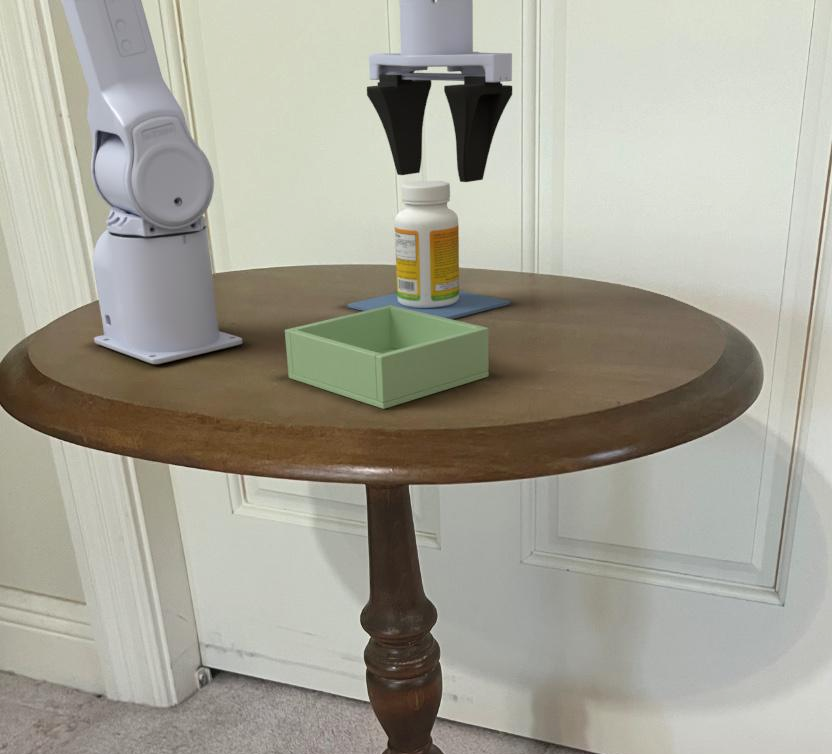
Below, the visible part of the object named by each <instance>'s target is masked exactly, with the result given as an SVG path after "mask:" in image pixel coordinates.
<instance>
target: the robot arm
mask: <svg viewBox="0 0 832 754" xmlns="http://www.w3.org/2000/svg"><path fill="white" fill-rule="evenodd" d="M473 1H474V0H398V2H399V4H398V5H399V28H400V29H399V31H400V33H399V35H400V52H393V53H392V52H391V53H390V52H389V53H385V52H383V53H370V54H369V53H368V64H369V65H368V66H369V70H368V71H369V80H372V81H373V80H374V81H378V82H377V85H370V86H366V96H367V98H368V99H369V102H371V104H372V106H373V107H374V110H375V112H376V113H377V115H378V117H379V120H380V122H381V124H382V128H383V129H384V132H385V136H386V139H387V141H388V145H389V148H390V153H391V155H392V160H393V163H394V167H395V170H396V174H397V176H406V175H413V174H420V172H421V167H422V158H423V127H424V118H425V112H426V107H427V103H428V99H429V95H430V91H431V89H432V81H447V82H448V81H451V82H455V81H456V82H463V84H462V83H461V84H449V85H444V86H443V87H444V88H443V92H444V94H445V97H446V101H447V104H448V106H449V110H450V114H451V119H452V124H453V129H454V136H455V148H456V149H455V152H456V167H457V173H458V174H457V175H458V179H459V183H471V182H478V181H483V180H484V176H485V171H486V167H487V162H488V158H489V153H490V149H491V146H492V142H493V139H494V136H495V133H496V130H497V127H498V125H499V122H500V120H501V117H502V115H503V113H504V111H505V110H506V109H505V108H506V107H507V105H508V103H509V102H510V100H511V98H512V96H513V85H509V84H507V85H506V84H503V83H501V82H512V81H513V53H512V52H479V51H474V32H473V31H474V15H473V14H474V13H473V12H474V7H473V5H474V4H473ZM60 2H61V5H62V9H63V11H64V14H65V18H66V21H67V24H68V28H69V31H70V34H71V38H72V41H73V44H74V47H75V51H76V54H77V58H78V61H79V64H80V66H81V70H82V74H83V76H84V81H85V83H86V86H87V90H88V100H87V101H88V103H87V112H86V122H87V125H88V128H89V131H90V136H91V140H92V150H91V151H92V152H91V158H90V159H91V160H90V175H91V179H92V183H93V186H94V188H95V190H96V192H97V194H98V196H100V198H101V200H103V201H104V202H105V203H106V205H108V206H109V207H110V210H109V213H108V216H107V220H106V222H105V223H106V229H105V230H104V232H102V233H101V235H100V236H99V237H98V239H97V240H96V244H95V246H94V249H93V254H92V267H93V273H94V279H95V286H96V292H97V298H98V304H99V310H100V317H101V323H102V328H103V334H102V335H98V336H97V335H96V336H95V337H93V340H94V343H95V344H96V345H99V346H101V347H105V348H106V349H109V350H113V351H115V352H118V353H121V354H124V355H126V356H129V357H132V358H135V359H137V360H140V361H143V362H145V363H148V364H151V365H161V364H165V363H169V362H174V361H178V360H182V359H187V358H191V357H195V356H199V355H203V354H207V353H211V352H215V351H219V350H224V349H228V348H232V347H238V346H240V345H243V338H242V337H240V336H237V335H234V334H230V333H227V332H223V331H220V329H219V320H218V313H217V303H216V295H215V285H214V277H213V268H212V259H211V251H210V250H211V249H210V241H209V233H208V226H207V217H206V216H204V214H205V213H206V212H207V210H208V208H209V206H210V204H211V202H212V199H213V195H214V190H215V189H214V188H215V181H214V180H215V179H214V173H213V168H212V166H211V163H210V161H209V159H208V157H207V155H206V153H205V152H204V150H202V149H201V147H200V146H199V145H198V144H197V142H196V141H195V139H194V138H193V137H192V135H191V133H190V131H189V128H188V125H187V121H186V117H185V114H184V111H183V109H182V107H181V106H180V104H179V102H178V100H177V99H176V97H175V95H174V94H173V93H172V91H171V90H170V87H168V85H167V84H166V81H165V80H164V78H163V75H162V72H161V68H160V64H159V60H158V57H157V53H156V49H155V46H154V42H153V38H152V34H151V31H150V28H149V27H150V26H149V23H148V20H147V16H146V12H145V9H144V5H143V2H142V0H60ZM430 67H431V68H441V67H442V68H443V67H446V71H447V72H419V71H428V68H430ZM417 71H418V72H417ZM451 72H452V73H451ZM457 72H458V73H457ZM459 72H460V73H459Z"/></svg>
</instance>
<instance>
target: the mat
mask: <svg viewBox="0 0 832 754" xmlns="http://www.w3.org/2000/svg"><path fill="white" fill-rule="evenodd" d="M388 305H392V306H396V307H400V308H404V309H409V310H413V311H417V312H421V313H426V314H430V315H434V316H439V317H443V318H447V319H452V320H456V319H458V318H463V317H466V316H470V315H473V314H474V315H475V314H478V313H481V312H485V311H489V310H494V309H497V308H501V307H505V306H509V305H510V300H507V299H501V298H498V297H497V298H496V297H492V296H488V295H487V296H486V295H481V294H477V293H473V292H467V291H463V290H459V299H458V301H457V302H456V303H455V304H453V305H449V306H444V307H437V308H412V307H407V306H404V305H402V304H400V303H399V302H398V298H397V292H394V293H389V294H384V295H379V296H376V297H372V298H367V299H363V300H358V301H354V302H349V303H347V308H349V309H354V310H358V311H360V312H363V311H367V310H371V309H376V308H380V307H384V306H388Z"/></svg>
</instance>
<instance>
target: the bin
mask: <svg viewBox="0 0 832 754" xmlns="http://www.w3.org/2000/svg"><path fill="white" fill-rule="evenodd" d="M489 334H490V329H489V327H486V326H482V325H478V324H473V323H469V322H465V321H461V320H457V319H447V318H443V317H439V316H434V315H430V314H426V313H421V312H417V311H413V310H409V309H404V308H400V307H396V306H392V305H388V306H384V307H380V308H376V309H371V310H367V311H359V312H354V313H351V314H346V315H342V316H338V317H332V318H329V319H326V320H320V321H316V322H313V323H309V324H304V325H300V326H295V327H291V328H287V329H284V336H285V337H284V339H285V351H286V361H287V362H286V363H287V373H288V378H289V379H291V380H293V381H296V382H300V383H303V384H306V385H309V386H312V387H316V388H319V389H322V390H323V391H324V390H325V391H328V392H330V393H333V394H336V395H340V396H343V397H346V398H349V399H351V400H355V401H358V402H361V403H364V404H367V405H370V406H374V407H376V408H379V409H383V410H385V409H388V408H392V407H395V406H398V405H401V404H404V403H409V402H410V401H414V400H417V399H420V398H424V397H427V396H430V395H434V394H437V393H440V392H444V391H446V390H450V389H453V388H456V387H459V386H462V385H465V384H470V383H472V382H476V381H479V380H482V379H485V378H488V377H489V376H490V375H489V373H490V372H489V369H490V367H489V365H490V363H489V360H490V359H489V356H490V355H489V354H490V353H489V352H490V351H489V350H490V346H489V345H490V343H489V342H490V340H489V338H490V337H489V336H490V335H489Z"/></svg>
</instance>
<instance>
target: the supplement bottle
mask: <svg viewBox="0 0 832 754" xmlns="http://www.w3.org/2000/svg"><path fill="white" fill-rule="evenodd" d="M450 184H451V183H450V182H448V181H444V180H443V181H442V180H417V181H408V182H405V183H402V184H401V199H402V200H401V201H402V203H403V204H404V209H403V210H401V211H399V212H398V213H397V214H396V215H395V218H394V240H395V241H394V243H395V244H394V245H395V247H394V248H395V271H396V274H395V275H396V276H395V277H396V293H397V298H398V302H399V303H400V304H402V305H404V306H407V307H412V308H437V307H444V306H449V305H453V304H455V303H456V302H457V301H458V299H459V291H460V248H459V247H460V245H459V244H460V240H459V239H460V235H459V234H460V233H459V231H460V230H459V218H458V214H457V213H456V212H455V211H454V210H453V209H450V208H449V207H448V203H449V202H450V201H451V199H450V198H451V185H450Z"/></svg>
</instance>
